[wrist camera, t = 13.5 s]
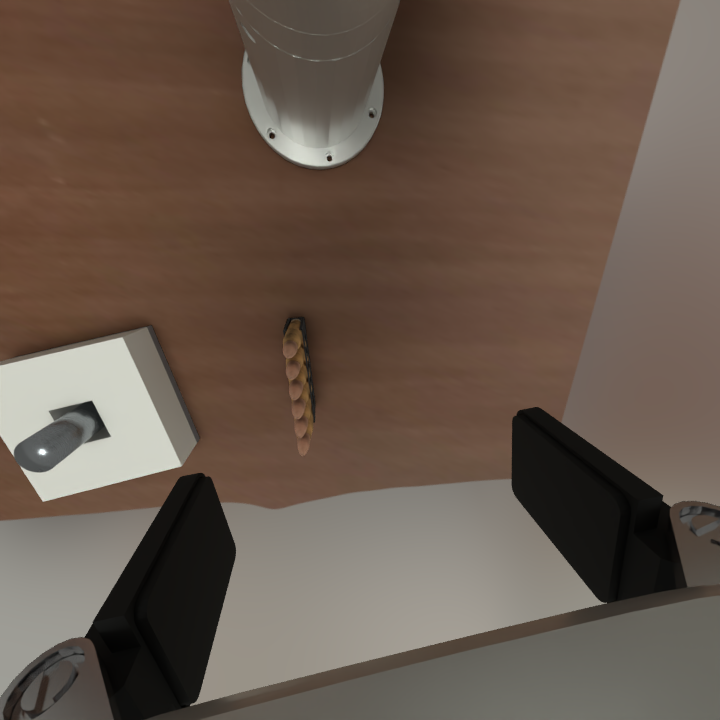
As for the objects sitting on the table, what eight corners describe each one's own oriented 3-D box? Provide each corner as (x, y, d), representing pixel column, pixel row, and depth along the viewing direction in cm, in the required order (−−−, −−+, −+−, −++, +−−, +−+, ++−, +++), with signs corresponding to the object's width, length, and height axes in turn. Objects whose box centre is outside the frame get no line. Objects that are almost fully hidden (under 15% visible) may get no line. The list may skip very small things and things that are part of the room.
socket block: (15, 356, 34) (-39, 374, 29) (151, 325, 35) (122, 337, 30) (80, 468, 39) (42, 501, 33) (199, 438, 39) (181, 466, 34)
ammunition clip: (315, 404, 40) (314, 463, 28) (300, 406, 40) (293, 466, 28) (304, 316, 37) (298, 343, 25) (287, 318, 36) (273, 345, 25)
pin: (88, 395, 35) (5, 445, 26) (116, 388, 35) (45, 434, 26) (101, 420, 36) (26, 476, 27) (129, 412, 36) (64, 466, 27)
